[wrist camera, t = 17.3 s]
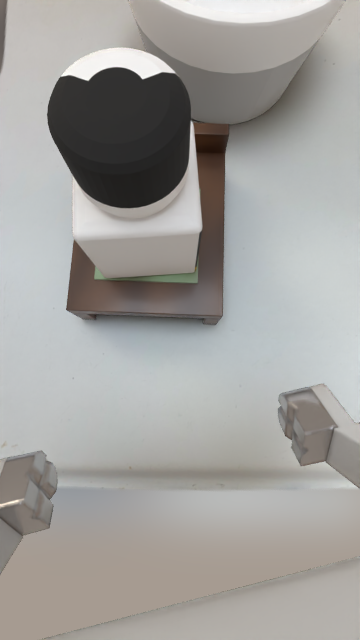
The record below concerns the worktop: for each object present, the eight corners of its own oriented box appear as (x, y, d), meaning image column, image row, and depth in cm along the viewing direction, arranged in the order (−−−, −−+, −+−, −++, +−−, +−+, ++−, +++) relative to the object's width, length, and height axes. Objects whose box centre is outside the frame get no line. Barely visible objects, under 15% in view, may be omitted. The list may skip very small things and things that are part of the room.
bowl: (109, 127, 30) (70, -6, 19) (154, -18, 33) (142, -200, 23) (297, 164, 29) (363, 47, 19) (324, 12, 32) (394, -162, 22)
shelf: (82, 319, 27) (54, 304, 21) (97, 170, 29) (76, 118, 23) (216, 324, 26) (226, 310, 21) (219, 174, 29) (229, 123, 23)
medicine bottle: (196, 273, 23) (213, 168, 11) (104, 279, 23) (22, 180, 11) (190, 190, 24) (198, 15, 12) (102, 195, 24) (26, 25, 12)
